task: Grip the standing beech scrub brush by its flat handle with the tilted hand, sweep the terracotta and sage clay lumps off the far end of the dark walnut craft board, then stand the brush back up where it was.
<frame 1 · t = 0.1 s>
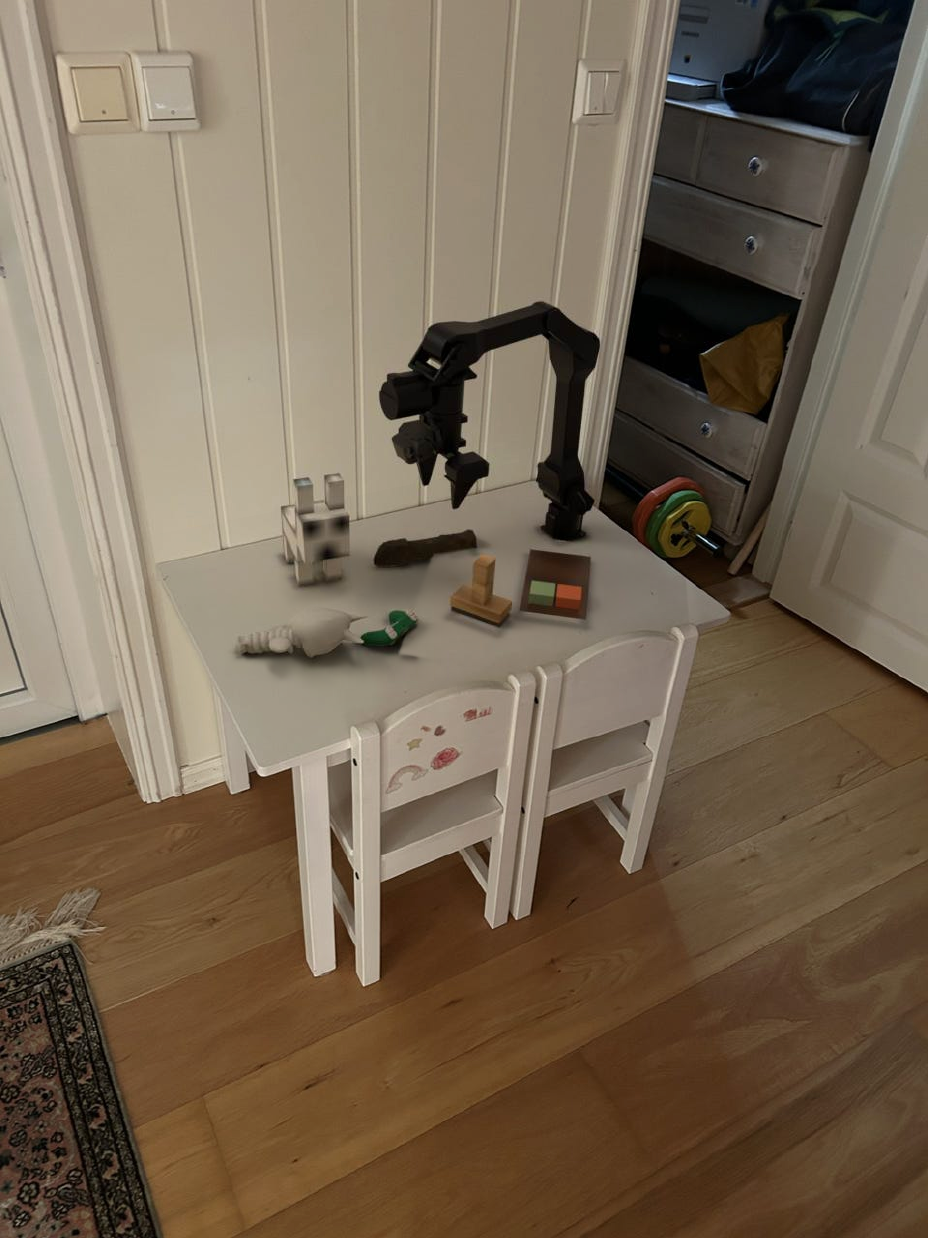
hand: (440, 496, 155), 15 cm above the table, tool pointing down, fingers open, 9 cm apart
brush: (479, 620, 152), on the table
clay sage: (541, 598, 155), point 1 cm above the table, touching board
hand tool: (426, 560, 166), on the table
clay terracotta: (567, 601, 155), point 1 cm above the table, touching board
board: (555, 589, 160), on the table
toy creature: (307, 652, 142), on the table
green stocking: (390, 638, 147), on the table
white blocky toy rabbit: (314, 572, 161), on the table
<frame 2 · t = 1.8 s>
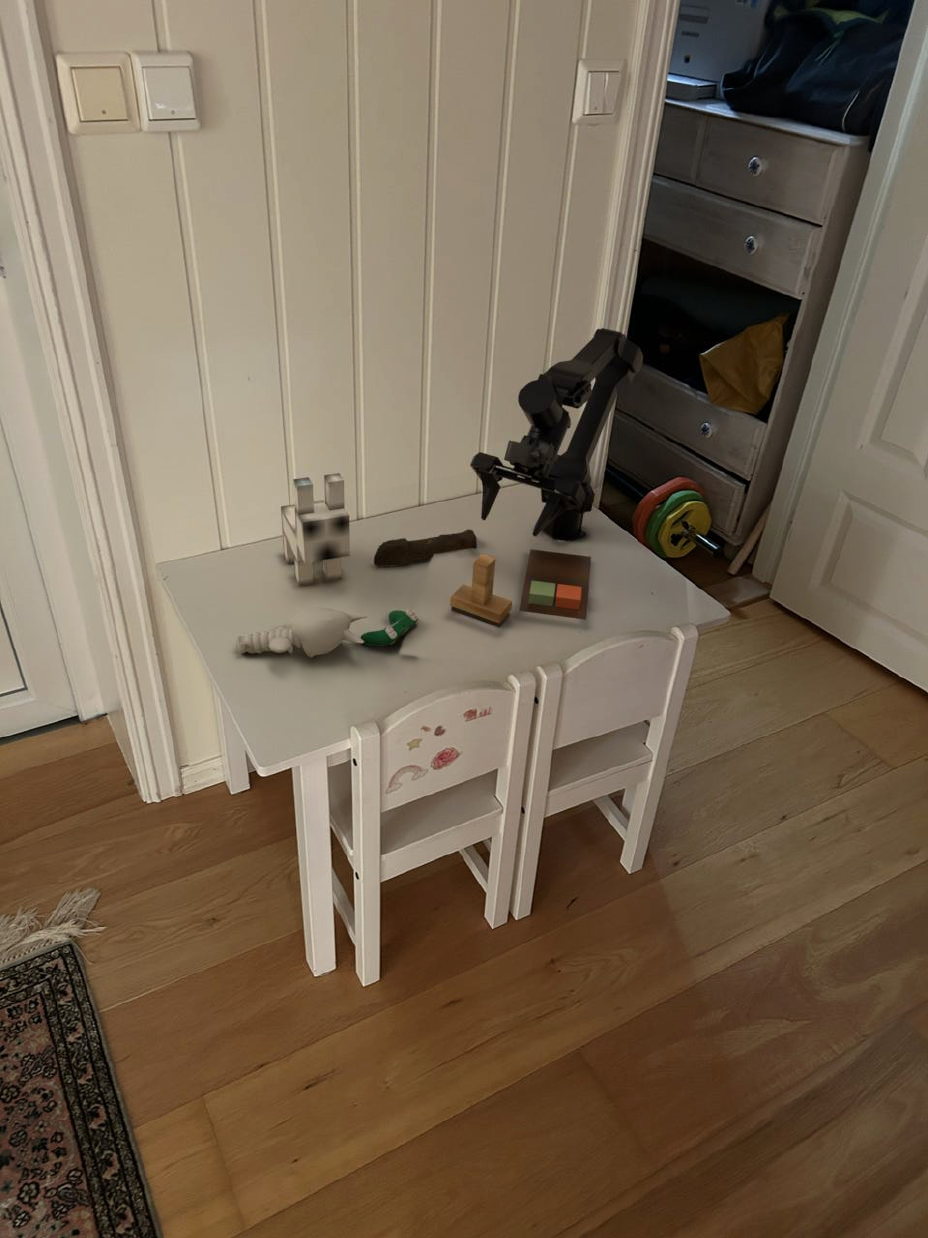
hand: (508, 527, 150), 13 cm above the table, tool tilted 45°, fingers open, 9 cm apart
nothing on the table moved.
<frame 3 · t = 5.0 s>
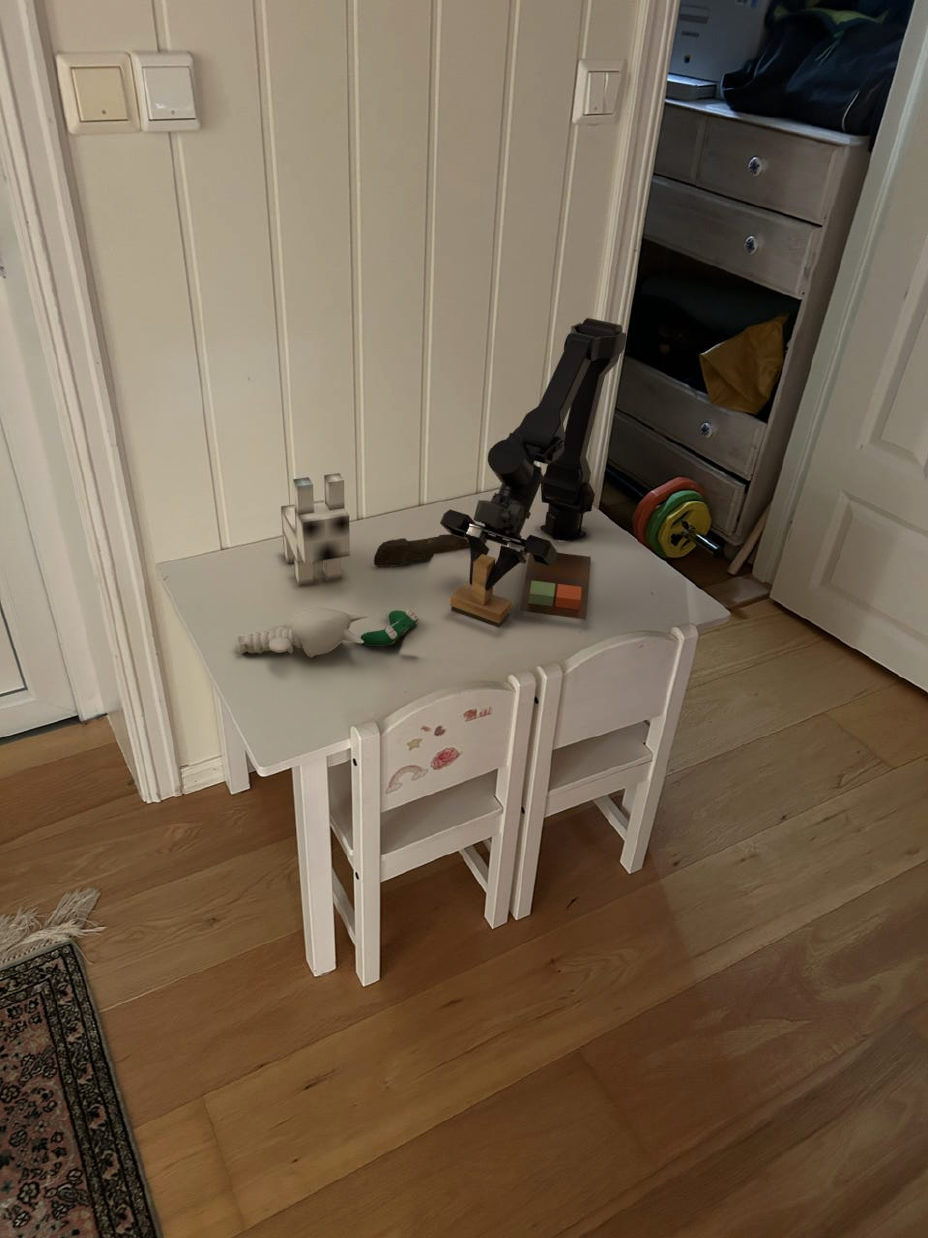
hand: (478, 587, 147), 7 cm above the table, tool tilted 45°, fingers closed on brush, 2 cm apart
brush: (479, 620, 152), on the table, touching gripper
everything else where it was.
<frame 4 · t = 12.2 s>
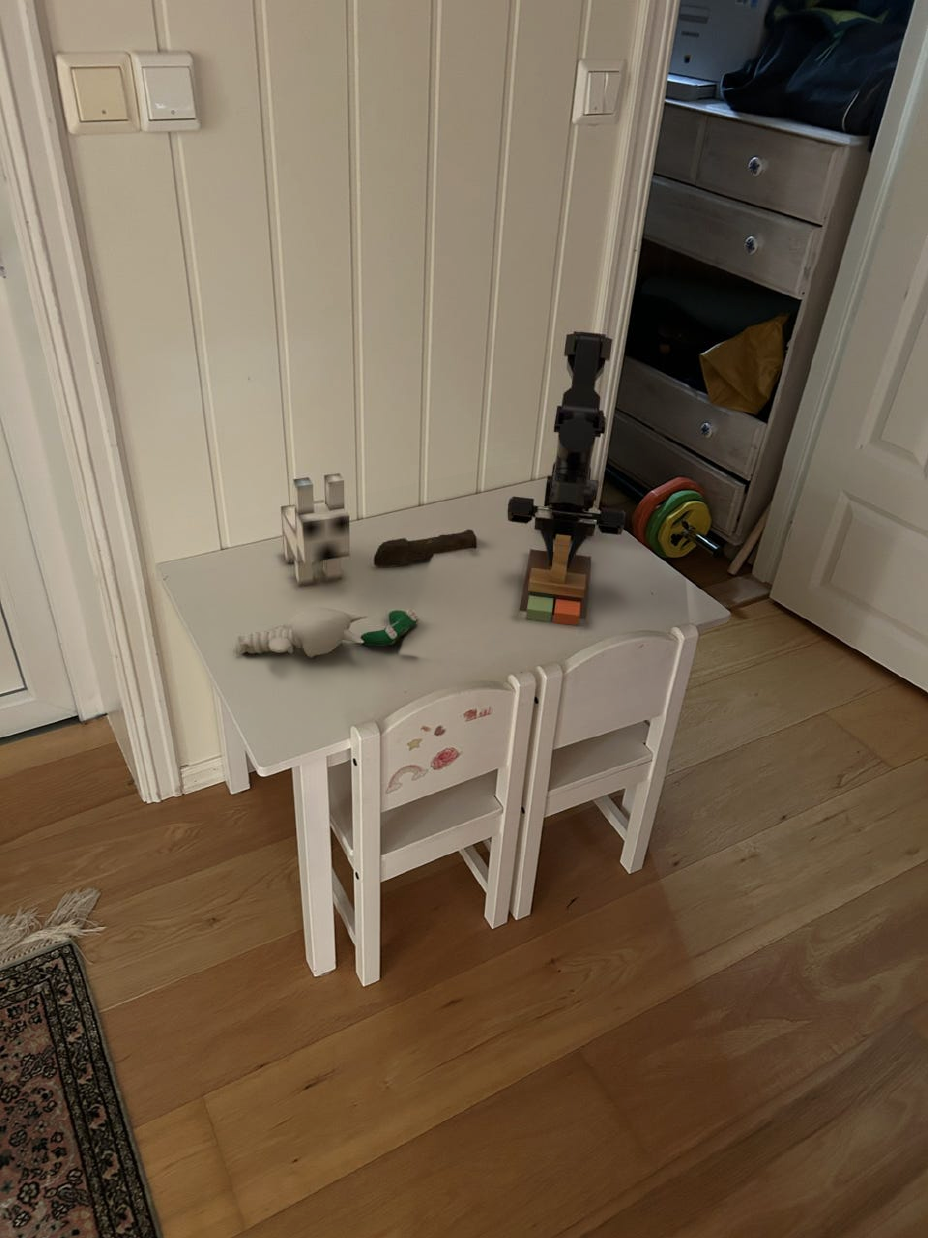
hand: (559, 567, 149), 9 cm above the table, tool tilted 45°, fingers closed on brush, 2 cm apart
brush: (554, 599, 154), point 2 cm above the table, touching clay sage, gripper
clay sage: (539, 613, 152), point 1 cm above the table, touching board, brush
clay terracotta: (566, 617, 151), point 1 cm above the table, touching board
everything else where it was.
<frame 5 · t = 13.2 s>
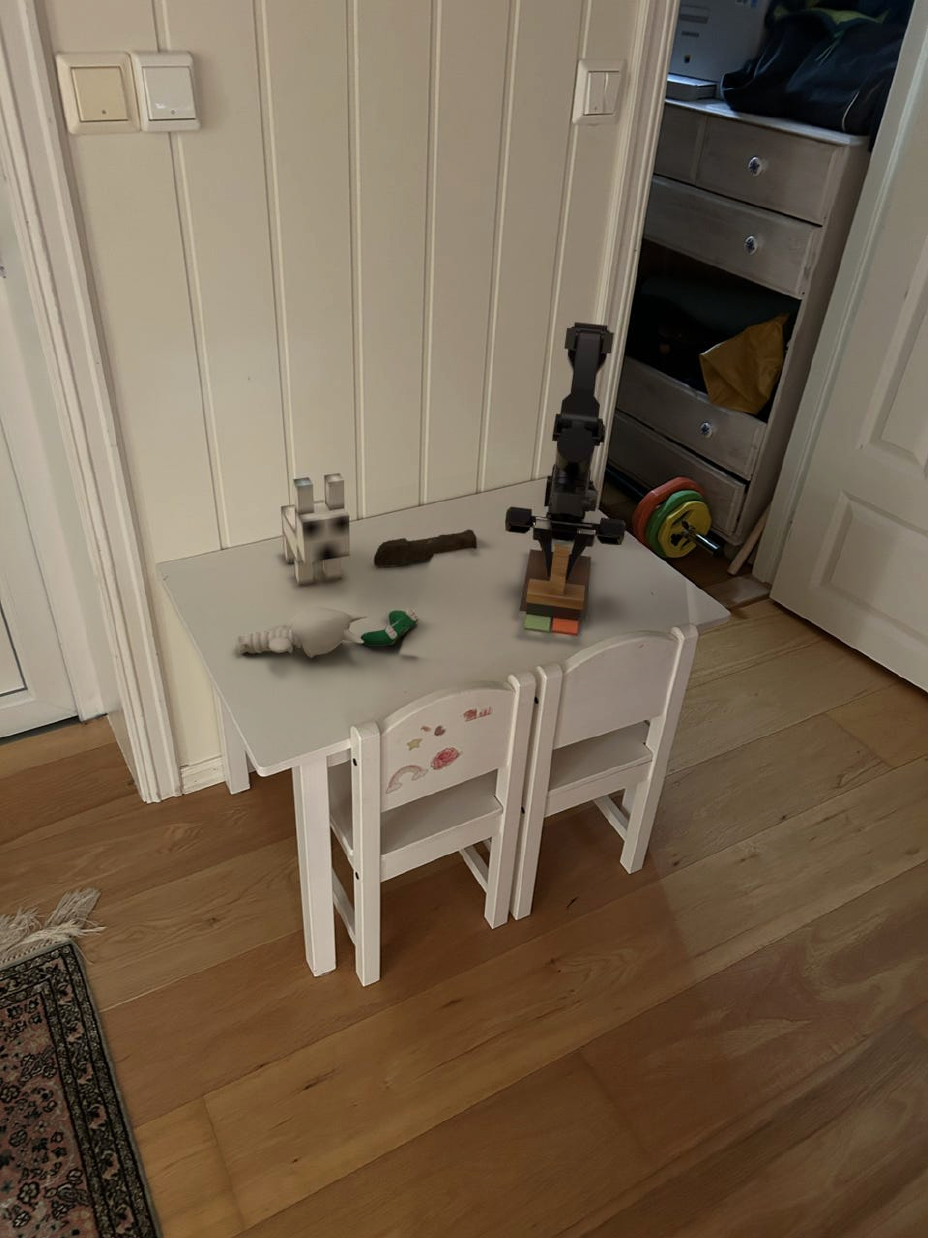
hand: (557, 578, 146), 9 cm above the table, tool tilted 45°, fingers closed on brush, 2 cm apart
brush: (553, 610, 152), point 2 cm above the table, touching clay terracotta, gripper
clay sage: (536, 631, 150), on the table
clay terracotta: (564, 634, 150), on the table, touching brush
everything else where it was.
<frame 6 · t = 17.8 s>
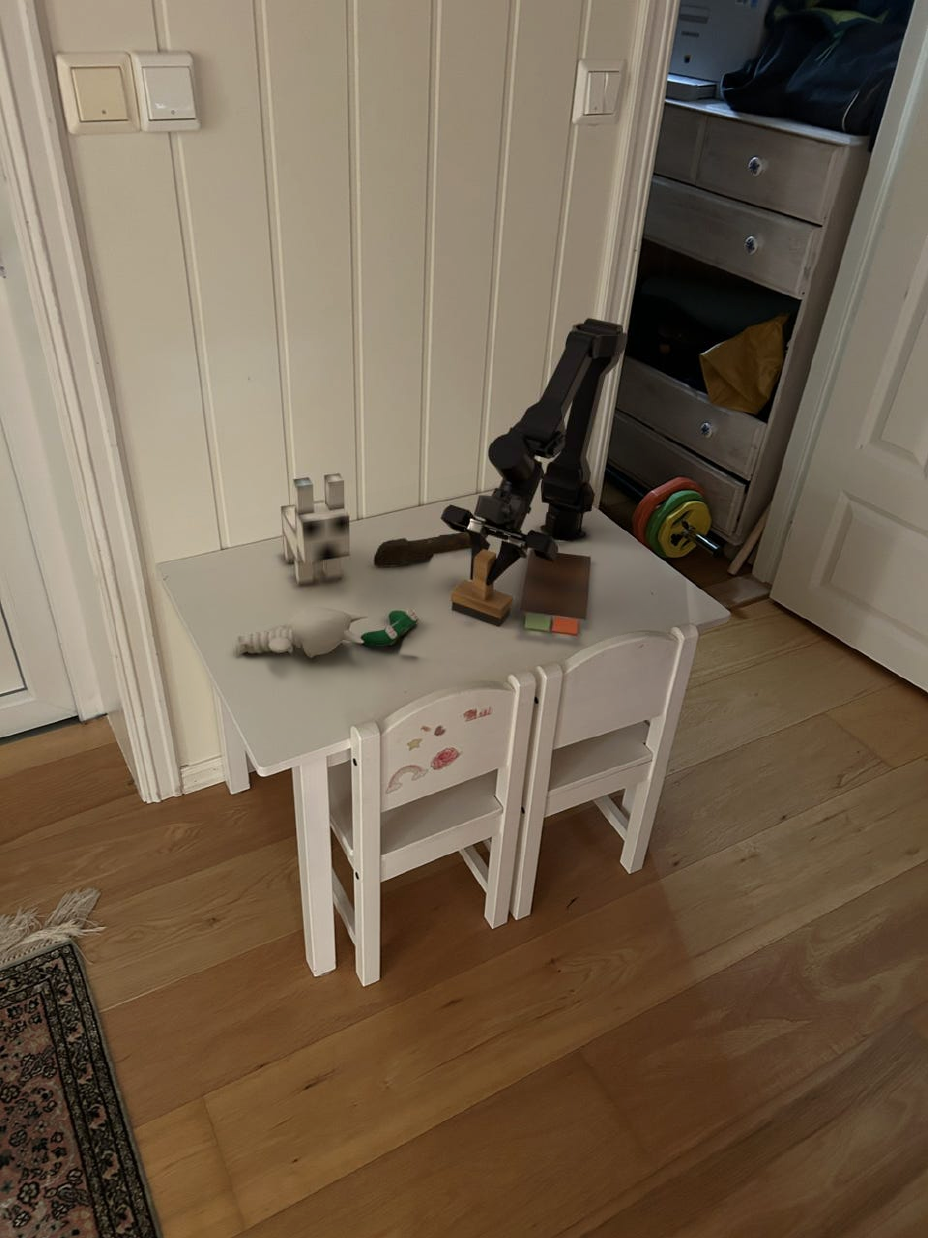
hand: (479, 582, 146), 8 cm above the table, tool tilted 45°, fingers closed on brush, 2 cm apart
brush: (480, 615, 151), point 1 cm above the table, touching gripper
clay terracotta: (564, 634, 150), on the table
everything else where it was.
when the fingers open (7 cm above the table, at t = 18.3 s): brush stays where it is, on the table.
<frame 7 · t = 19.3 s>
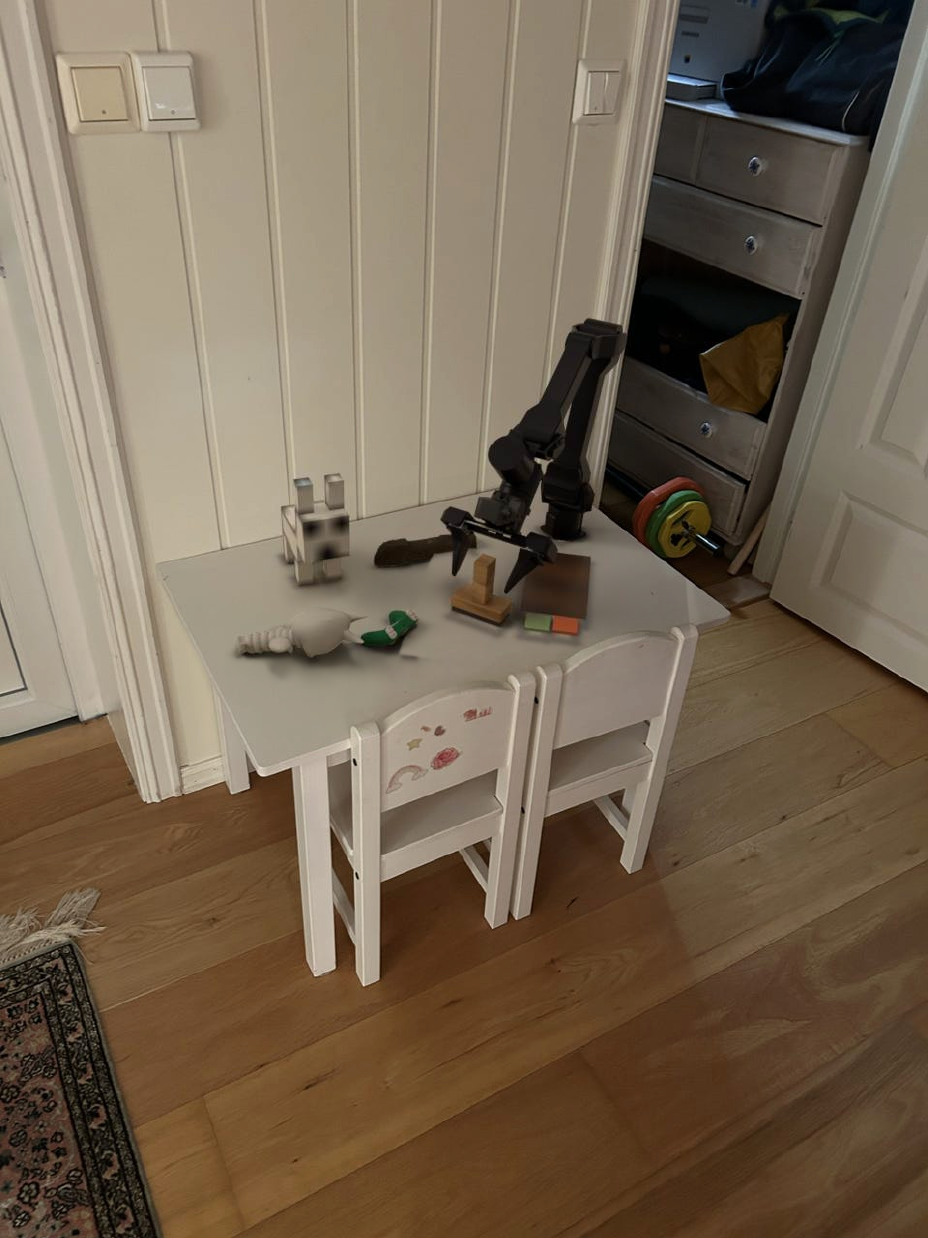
hand: (478, 584, 146), 8 cm above the table, tool tilted 45°, fingers open, 9 cm apart
brush: (480, 619, 152), on the table
everything else where it was.
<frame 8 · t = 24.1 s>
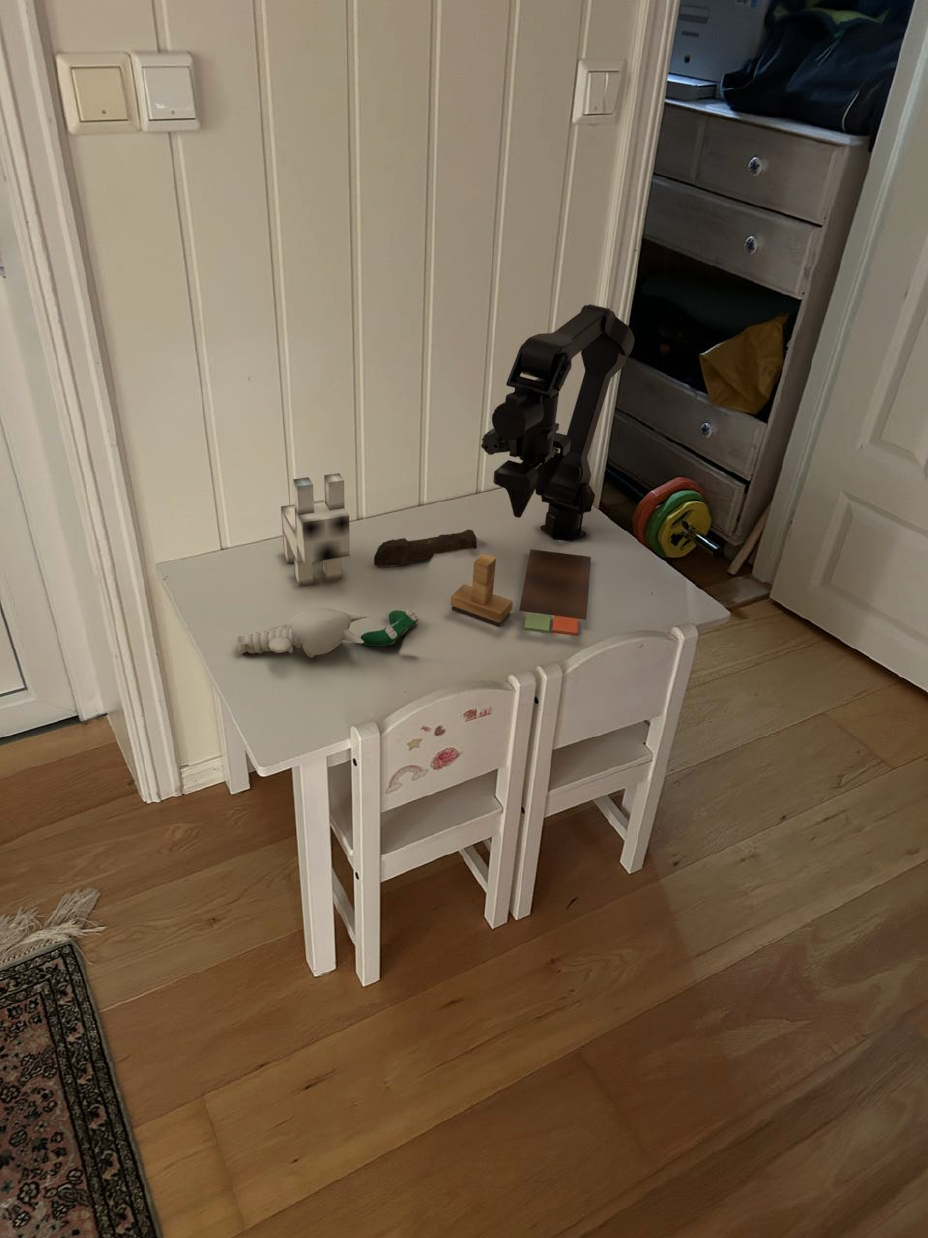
hand: (528, 505, 157), 13 cm above the table, tool pointing down, fingers open, 9 cm apart
nothing on the table moved.
at the end: clay terracotta on the table; clay sage on the table; brush tilted 0° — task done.
